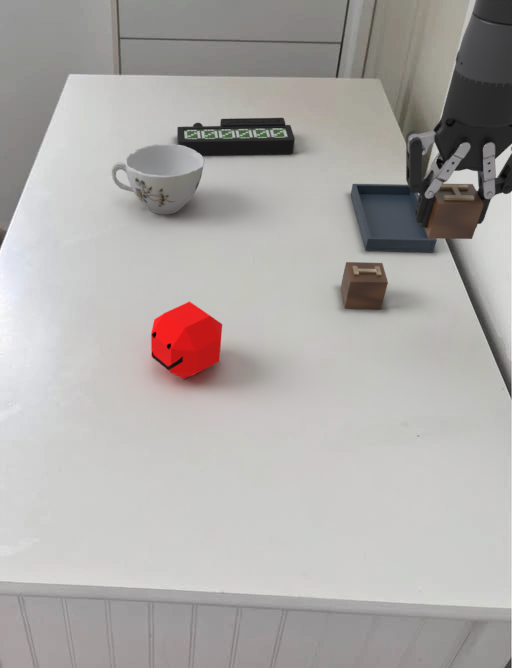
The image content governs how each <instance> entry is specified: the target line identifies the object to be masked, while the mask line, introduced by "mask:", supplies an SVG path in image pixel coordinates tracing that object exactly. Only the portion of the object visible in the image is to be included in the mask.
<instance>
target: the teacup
mask: <svg viewBox="0 0 512 668" xmlns="http://www.w3.org/2000/svg"><path fill="white" fill-rule="evenodd" d="M204 167H205V158H204V157H203V156H202V155H201V154H200V153H197V152H196V151H195V150H193V149H191V148H188V147H186V146H182V145H178V144H175V143H163V144H151V145H146V146H142V147H141V148H137V149H135V150H134V152H131V153H129V154H128V155H127V156H126V158H125V163H124V162H123V161H118V162H115V163H113V165H112V167H111V177H112V181H113V182H114V184H115V185H116V186H117V187H118V188H119V189H120V190H124V191H128V192H130V193H134V195H135V197H136V198H137V199H138V200H139V201H140V203H142V204H143V205H144V206H145V207H146V208H147V209H148V210H149V211H150V212H152V213H154V214H157V215H164V216H167V215H172V214H176V213H177V212H179V211H180V210H182V209H183V207H184V206H185V205H186V204H187V203H188V202H189V201H190V200H191V199H192V197H194V194H195V193H196V192H197V189H198V187H199V184H200V182H201V178H202V174H203V170H204ZM120 170H121V171H123V172H124V173H125V174H126V176H127V180H128V183H129V185H130V186H129V185H126V184H124V183H123V182H121V181H119V179H118V177H117V172H118V171H120Z"/></svg>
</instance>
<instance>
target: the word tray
mask: <svg viewBox="0 0 512 668" xmlns="http://www.w3.org/2000/svg"><path fill="white" fill-rule="evenodd" d="M350 198H351V203H352V206H353V210H354V214H355V217H356V218H355V219H356V222H357V225H358V229H359V232H360V237H361V240H362V244H363V248H364V252H396V253H397V252H400V253H434V251H435V248H436V245H437V238H428V236H427V234H426V231H425V229H424V228H420V226H419V223H417V221H416V219H415V214H414V212H415V209H416V205H417V201H418V198H419V193H412V192H411V191H410V188H409V186H408V184H401V183H400V184H399V183H398V184H396V183H395V184H393V183H392V184H391V183H389V184H388V183H352V185H351V190H350Z"/></svg>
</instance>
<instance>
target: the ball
mask: <svg viewBox="0 0 512 668" xmlns="http://www.w3.org/2000/svg"><path fill="white" fill-rule="evenodd" d="M222 332H223V323H222V322H220V321H218V320H217V319H215V318H214V317H213V316H212V315H210V314H208V313H207V312H206V311H204V310H203V309H201V308H200V307H199V306H197V305H196V304H194V303H192V302H191V301H187V302H185V303H183V304H181V305H179V306H177V307H174V308H172V309H170V310H167V311H166V312H164V313H162V314H160V315H159V316H158V317H156V318H154V319H153V324H152V328H151V332H150V349H151V355H150V356H151V358H152V359H153V360H155V361H156V362H157V363H159V364H160V365H161V366H162V367H164V368H165V369H166V370H168V372H169V373H171V374H173V375H175V376H177V377H179V378H181V379H184V380H185V379H187V378H188V377H191V376H194V375H196V374H197V373H200V372H202V371H203V370H206V369H208V368H211V366H214V365H215V364H218V363H220V356H221V349H222V348H221V346H222V334H223V333H222Z"/></svg>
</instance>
